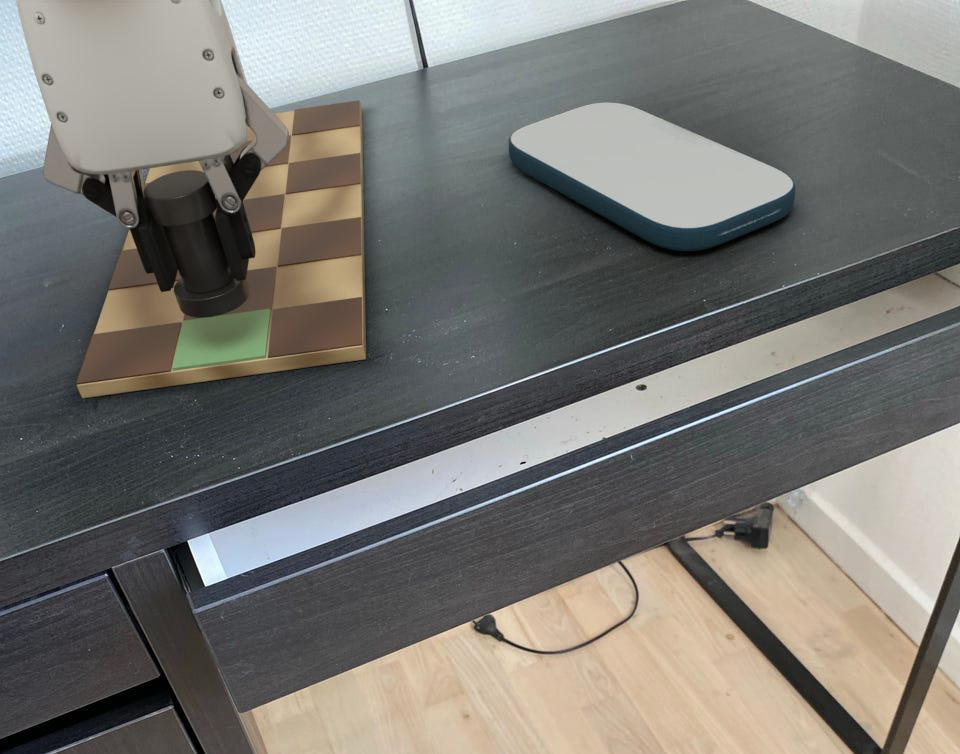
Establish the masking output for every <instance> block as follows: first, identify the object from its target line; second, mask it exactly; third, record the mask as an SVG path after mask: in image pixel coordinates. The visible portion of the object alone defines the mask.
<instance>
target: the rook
mask: <svg viewBox="0 0 960 754" xmlns="http://www.w3.org/2000/svg"><path fill="white" fill-rule="evenodd" d="M144 196H145V199H146V202H147V205H148V207H149V210H150V213H151V216H152V218H153V221H154V222H155V223H156V224H158V225H161V226H163V228H164V231H165V234H166V237H167V240H168V242H169V245H170V248H171V251H172V254H173V256H174V259H175V262H176V265H177V268H178V270H179V273H180V276H181V278H180V279H179V280H178V281H177V282H176V284H175V286H174V294H175V297H176V299H177V302H178V305H179V308H180V310H181V311H182V312H183V313H184V314H185V315H187V316H190V317H196V318H207V317H214V316H219V315H222V314H225V313H228V312H230V311H232V310H234V309H236V308H238V307H239V306H241V305H242V304H243V303H244V302H245V301H246V300H247V299H248V297H249V294H250V290H249V287H248V283H247V280H240V281H237V280H236V279H233V278H232V274H231V271H230V268H229V265H228V261H227V258H226V255H225V252H224V248H223V245H222V242H221V239H220V235H219V232H218V229H217V226H216V222H215V217H214V214H213V212H214V211H215V210H216V209H217V205H216V197H215V194H214V192H213V190H212V188H211V186H210V184H209V182H208V180H207V178H206V176H205V173H204V172H202V171H197V170H186V171H178V172H174V173H170V174H167V175H164V176H161V177H159V178H157V179H155V180H153V181H152V182H150V183H149V184H148V185H147V186H146V187H145V189H144Z"/></svg>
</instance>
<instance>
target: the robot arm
mask: <svg viewBox="0 0 960 754" xmlns="http://www.w3.org/2000/svg"><path fill="white" fill-rule="evenodd" d="M15 2H16V7H17V11H18V16H19V20H20V24H21V27H22V31H23V36H24V40H25V43H26V44H25V45H26V47H27V50H28V54H29V58H30V61H31V66H32V68H33V69H32V70H33V72H34V74H35V78H36V79H35V80H36V81H37V85H38V88H39V91H40V94H41V98H42V101H43V103H44V106H45V109H46V113H47V115H48V118H49V121H50V128H49V134H48V139H47V144H46V151H45V156H44V161H43V167H42V168H43V169H42V177H43V179H44V180H45V181H46V182H47V183H49V184H51V185H53V186H55V187H58V188H61V189H63V190H66V191H68V192H71V193H73V194H76V195H82V196H84V197H85V198H86V199H87V200H88V201H89V202H91V203H92V204H95V205H96V206H97V207H99V208H101V209H102V210H104V211H106V212H107V213H109V214H110V215H112V216H114V217H116V219H117V222H118V223H119V225H120V226H122V227H124V228H126V229H128V230H129V229H130V232H131V234H132V237H133V240H134V243H135V245H136V248H137V251H138V253H139V256H140V259H141V261H142V264H143V267H144V269H145V271H146V273H147V274H149V273H154V275H155V277H156V280H157V283H158V286H159V288H160V291H161V292H166V291H171V288H173V287H174V283H175V280H176V276H177V272H178V268H177V265H176V262H175V259H174V256H173V254H172V251H171V248H170V245H169V242H168V240H167V237H166V234H165V231H164V228H163V226H161V225H158V224H156V223H155V222H154V221H153V218H152V216H151V213H150V210H149V207H148V205H147V202H146V199H145V196H144V187H143V186H144V182H143V181H144V180H143V175H142V170H150V168H155V167H162V166H168V165H175V164H181V163H188V162H194V161H199V163H200V165H201V167H202V169H203V171H204V173H205V176H206V178H207V180H208V182H209V184H210V186H211V188H212V190H213V192H214V194H215V196H216V205H217V210H216V215H215V222H216V226H217V229H218V232H219V235H220V239H221V242H222V245H223V248H224V252H225V255H226V258H227V261H228V265H229V268H230V271H231V274H232V278H233V279H236V280H237V281H240V280H246V276H247V269H248V263H249V259H250V258H255V254H256V251H255V244H254V240H253V236H252V233H251V229H250V226H249V222H248V219H247V215H246V212H245V208H244V204H243V200H244V198H245V197H246V195H247V193H248V192H249V190H250V189H251V187H252V185H253V184H254V182H255V180H256V179H257V177H258V176H259V174H260V171H261V170H262V169H264V168H265V167H266V166H268V165H269V164H270V163H271V162H272V161H273V160H274V159H275V158H276V157H277V156H278V155H279V154H280V153H281V152H282V151H283V150H284V149H285V148H286V147H287V145H288V138H289V131H288V129H287V127H286V126H285V125H284V124H283V123H282V122H281V120H280V119H279V118H278V117H277V116H276V115H275V114H276V113H275V112H273V110H271V107H269V106H268V105H267V104H266V102H264V101H263V99H262V98H260V96H259V95H258V94H257V93H256V91H254V89H252V87H250V85H249V84H248V82H247V77H246V75H245V70H244V68H243V65H242V61H241V58H240V55H239V52H238V49H237V45H236V41H235V39H234V35H233V33H232V28H231V26H230V23H229V20H228V17H227V13H226V10H225V7H224V4H223V2H222V0H15ZM246 125H247V126H248V127H249V128H250V129H251V130H252V131H253V132H254V133H255V135H256V138H255V139H254V140H253V141H252V142H251V143H250V144H249V145H248V146H246V147H244V148H243V150H242V151H241V153H240V154H239V156H238V158H237V159H236V161H235V160H234V158H233V156H232V153H234V152H236V151H237V150H239V149H240V148H241V147H242V146H243V145H244V144H245V143H246V141H247V126H246Z"/></svg>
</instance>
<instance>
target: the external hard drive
mask: <svg viewBox="0 0 960 754" xmlns="http://www.w3.org/2000/svg"><path fill="white" fill-rule="evenodd" d="M508 155H509V156H508V157H509V159H510V161H511V163H512V165H514V166H515V168H517V169H518V170H519V171H521V172H523V173H524V174H526V175H527V176H530V177H531V178H532V179H535V180H537V181H539V182H540V183H541V184H544V185H546V186H547V187H549V188H551V189H553V190H555V191H557V192H559V193H560V194H562V195H563V196H566V197H567V198H569V199H571V200H572V201H574V202H576V203H578V204H579V205H581V206H583V207H585V208H586V209H588V210H591V211H592V212H594V213H596V214H598V216H599V215H600V216H601V217H603V218H605V219H606V220H608V221H610V222H612V223H613V224H616V225H617V226H619V227H621V228H622V229H624V230H626V231H627V232H630V233H631V234H633V235H635V236H637V237H639V238H640V239H642V240H643V241H646V242H647V243H650V244H652V245H654V246H657V247H659V248H663V249H665V250H670V251H676V252H697V251H703V250H708V249H713V248H715V247H717V246H720V245H723V244H725V243H728V242H730V241H732V240H735V239H737V238H740V237H742V236H745V235H747V234H749V233H752V232H754V231H756V230H759V229H761V228H764V227H766V226H768V225H770V224H771V225H772V224H773V223H775V222H777V221H779V220H781V219H783V218H784V217H786V216H787V215H788V214H789V213H790V212H791V210H792V209H793V207H794V204H795V198H796V184H795V182H794V180H793V179H792V177H791V176H790V175H789V174H787V173H786V172H784V171H782V170H780V169H779V168H777V167H775V166H772V165H770V164H769V163H766V162H763V161H762V160H759V159H757V158H755V157H752V156H749V155H747V154H745V153H743V152H741V151H738V150H736V149H734V148H732V147H728V146H727V145H724V144H722V143H720V142H717V141H715V140H713V139H710V138H709V137H706V136H703V135H701V134H699V133H696V132H694V131H693V130H692V131H691V130H690V129H688V128H685V127H682V126H680V125H678V124H675V123H673V122H671V121H669V120H666V119H664V118H662V117H660V116H657V115H655V114H653V113H650V112H648V111H646V110H643V109H641V108H639V107H636V106H633V105H629V104H626V103H621V102H611V101H605V102H604V101H603V102H602V101H601V102H593V103H589V104H584V105H580V106H577V107H575V108H571V109H569V110H567V111H563V112H561V113H558V114H555V115H552V116H549V117H546V118H543V119H541V120H537V121H534V122H532V123H529V124H527V125H524V126H522V127H519V128H517V129H516V130H514V131H512V133H511V135H510V136H509V138H508Z"/></svg>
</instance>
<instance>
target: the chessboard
mask: <svg viewBox="0 0 960 754" xmlns="http://www.w3.org/2000/svg"><path fill="white" fill-rule="evenodd" d="M274 114H275V115H276V116H277V117H278V118H279V119H280V120H281V122H282V123H283V124H284V125H285V126H286V127H287V129H288V131H289V138H288V145H287V147H286V148H285V149H284V150H283V151H282V152H281V153H280V154H279V155H278V156H277V157H276V158H275V159H274V160H273V161H272V162H271V163H270V164H269V165H268V166H266V167H265V168H264V169H262V170H261V171H260V174H259V176H258V177H257V179H256V180H255V182H254V184H253V185H252V187H251V189H250V190H249V192H248V193H247V195H246V197H245V198H244V200H243V204H244V208H245V212H246V215H247V219H248V222H249V226H250V229H251V233H252V236H253V240H254V244H255V251H256V254H255V258H250V259H249V263H248V269H247V276H246V280H247V283H248V287H249V290H250V294H249V297H248V299H247V300H246V301H245V302H244V303H243V304H242V305H241V306H239V307H238V308H236V309H234V310H232V311H230V312H228V313H225V314H222V315H228V314H235V313H242V312H249V311H256V310H264V309H270V310H271V314H270V323H269V332H268V341H267V350H266V358H262V359H255V360H248V361H240V362H233V363H226V364H219V365H211V366H204V367H197V368H190V369H183V370H175V371H173V369H172V367H173V363H174V358H175V354H176V350H177V345H178V341H179V336H180V332H181V328H182V323H183V321H184V320H192V319H199V318H196V317H190V316H187V315H185V314H184V313H183V312H182V311H181V310H180V308H179V305H178V302H177V299H176V297H175V294H174V287H173V288H171V291H166V292H161V291H160V288H159V286H158V283H157V280H156V277H155V275H154V273H149V274H147V273H146V271H145V269H144V267H143V264H142V261H141V259H140V256H139V253H138V251H137V248H136V245H135V243H134V240H133V237H132V234H131V232H130V229H129V228H128V232H127V235H126V238H125V241H124V244H123V247H122V250H121V251H120V252H119V257H118V259H117V262H116V265H115V268H114V271H113V274H112V277H111V280H110V283H109V286H108V289H107V294H106V297H105V300H104V303H103V305H102V308H101V311H100V315H99V317H98V320H97V324H96V327H95V330H94V332H93V334H92V336H91V339H90V342H89V344H88V347H87V350H86V352H85V353H86V354H85V356H84V359H83V362H82V364H81V368H80V371H79V373H78V377H77V380H76V384H75V385H76V388H77V390H78V392H79V394H80V396H81V398H82V399H88V398H95V397H103V396H109V395H110V396H111V395H117V394H125V393H131V392H139V391H140V392H141V391H144V390H145V391H146V390H153V389H161V388H168V387H177V386H183V385H190V384H191V385H192V384H197V383H205V382H211V381H218V380H227V379H232V378H240V377H248V376H256V375H262V374H270V373H277V372H284V371H290V370H297V369H305V368H313V367H314V368H315V367H321V366H327V365H328V366H329V365H334V364H341V363H342V364H343V363H348V362H355V361H364V360H367V330H366V329H367V328H366V327H367V326H366V325H367V321H366V271H365V270H366V268H365V267H366V265H365V264H366V263H365V261H366V259H365V256H366V255H365V207H364V205H365V203H364V201H365V200H364V198H365V197H364V195H365V193H364V142H363V140H364V135H363V134H364V133H363V109H362V103H361V101H360V100H358V99H357V100H352V101H344V102H338V103H331V104H324V105H316V106H309V107H302V108H295V109H294V110H290V111H284V112H276V113H274ZM246 126H247V125H246ZM255 138H256V135H255V133H254V132H253V131H252V130H251V129H250V128H249V127H248V126H247V141H246V143H245V144H244V145H243V146H242V147H241V148H240V149H239V150H237V151H236V152H234V153H232V156H233V158H234V160H235V161H236V159H237V158H238V156H239V154H240V153H241V151H242V150H243V148H244V147H246V146H248V145H249V144H250V143H251V142H252V141H253V140H254V139H255ZM186 170H197V171H202V172H204V171H203V169H202V167H201V165H200V163H199V161H194V162H188V163H181V164H175V165H168V166H162V167H155V168H149V169H148V173H147V176H146V179H145V182H143V187H144V189H145V187H146V186H147V185H148V184H149V183H150V182H152V181H153V180H155V179H157V178H159V177H161V176H164V175H167V174H170V173H174V172H178V171H186ZM215 197H216V196H215ZM216 210H217V209H216ZM216 210H215V211H214V212H213V214H214V217H215V215H216ZM180 278H181V276H180V273H179V270H178V272H177V276H176V280H175V283H174V286H175V284H176V282H177V281H178V280H179V279H180ZM219 316H220V315H219Z"/></svg>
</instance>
